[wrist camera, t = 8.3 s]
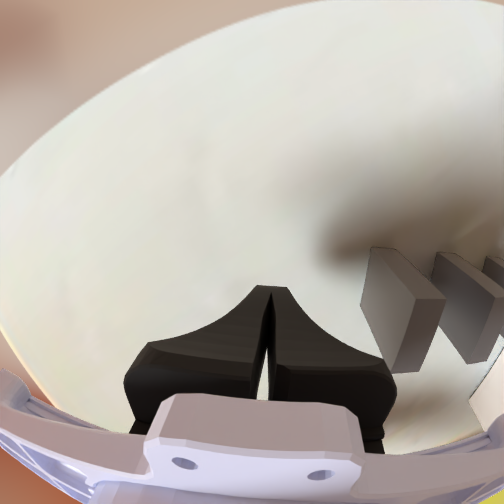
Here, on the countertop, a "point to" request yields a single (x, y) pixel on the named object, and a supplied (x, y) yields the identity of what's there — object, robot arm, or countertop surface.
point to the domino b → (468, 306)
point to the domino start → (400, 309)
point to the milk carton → (490, 395)
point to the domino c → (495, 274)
